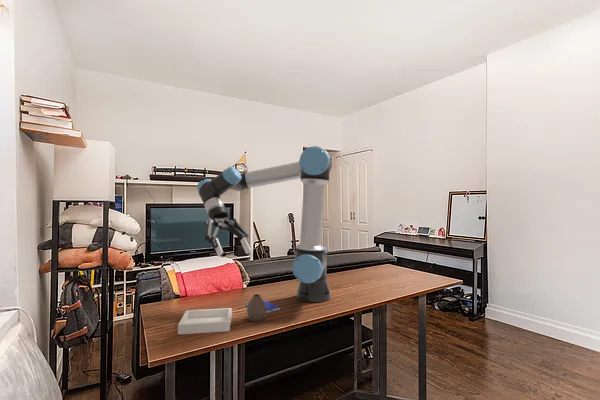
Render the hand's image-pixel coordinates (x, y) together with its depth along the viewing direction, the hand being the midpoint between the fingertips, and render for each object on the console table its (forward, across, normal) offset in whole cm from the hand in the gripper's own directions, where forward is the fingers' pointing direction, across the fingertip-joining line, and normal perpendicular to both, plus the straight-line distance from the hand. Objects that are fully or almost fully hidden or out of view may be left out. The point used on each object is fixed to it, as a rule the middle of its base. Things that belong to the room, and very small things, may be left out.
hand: (235, 253), depth 119 cm
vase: (+26, -1, -5) cm, 26 cm away
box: (+20, +14, -12) cm, 27 cm away
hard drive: (+20, -12, -11) cm, 26 cm away
